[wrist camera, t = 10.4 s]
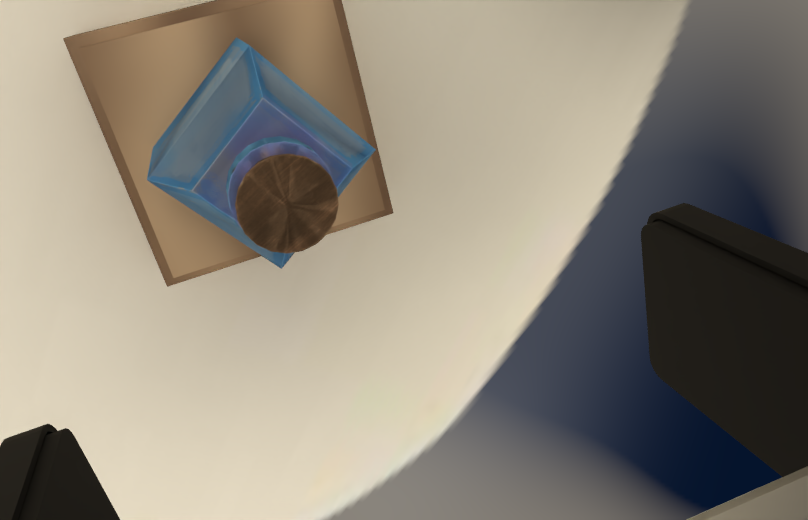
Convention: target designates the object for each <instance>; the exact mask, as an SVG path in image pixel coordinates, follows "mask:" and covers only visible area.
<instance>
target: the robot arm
mask: <svg viewBox="0 0 808 520" xmlns="http://www.w3.org/2000/svg"><path fill="white" fill-rule="evenodd" d="M641 242H642V256H643V270H644V283H645V297H646V311H647V325H648V339H649V352H650V361H651V364H652V367H653V369H654V371H655V372H656V374H657V375H658V376H659V377H660V378H661V379H662V380H663V381H664V382H665V383H667V384H668V385H669V386H670V387H672V388H673V389H674V390H675V391H676V392H678V393H679V394H680V395H681V396H683V397H684V398H685V399H686V400H688V401H689V402H691V403H692V404H693V405H694V406H695V407H697V408H698V409H699V410H700V411H701V412H703V413H704V414H705V415H706V416H708V417H709V418H710V419H711V420H713V421H714V422H715V423H716V424H717V425H719V426H720V427H721V428H722V429H724V430H725V431H726V432H728V433H729V434H730V435H731V436H732V437H734V438H735V439H736V440H738V441H739V442H740V443H741V444H742V445H744V446H745V447H746V448H747V449H749V450H750V451H751V452H752V453H754V454H755V455H756V456H757V457H759V458H760V459H761V460H762V461H763V462H765V463H766V464H767V465H768V466H770V467H771V468H772V469H774V470H775V471H776V472H777V473H778V474H780V475H781V476H782V478H780V479H778V480H776V481H773V482H771V483H769V484H767V485H765V486H762V487H760V488H757V489H755V490H753V491H751V492H748V493H746V494H744V495H742V496H739V497H737V498H735V499H732V500H730V501H728V502H726V503H724V504H721V505H719V506H717V507H714V508H712V509H710V510H708V511H705V512H703V513H701V514H699V515H697V516H694V517H692V518H690V519H687V520H808V253H806V252H804V251H801V250H799V249H796V248H794V247H791V246H789V245H787V244H784V243H782V242H779V241H777V240H775V239H772V238H770V237H767V236H765V235H763V234H760V233H758V232H755V231H753V230H750V229H748V228H746V227H743V226H741V225H738V224H736V223H733V222H731V221H729V220H726V219H724V218H721V217H719V216H716V215H714V214H712V213H709V212H707V211H704V210H702V209H699V208H697V207H695V206H692V205H690V204H685V203H683V204H680V205H677V206H674V207H671V208H668V209H665V210H662V211H660V212H656V213H653V214H652V215H651V216H650V217H649V219H648V222H647V225H645V226H644V227H643V228H642V231H641ZM0 520H120V519H119V517H118V515H117V513H116V511H115V509H114V508H113V506H112V504H111V502H110V500H109V499H108V497H107V495H106V493H105V491H104V489H103V488H102V486H101V484H100V482H99V480H98V479H97V477H96V475H95V473H94V471H93V469H92V468H91V466H90V464H89V462H88V460H87V458H86V457H85V455H84V453H83V451H82V449H81V448H80V446H79V444H78V442H77V440H76V438H75V437H74V435H73V434H72V432H71V431H70V430H69V429H66V428H65V429H62V430H59V431H57V430H56V429H55V428H54V427H53V426H52V425H50V424H46V425H43V426H40V427H37V428H35V429H32V430H29V431H26V432H23V433H20V434H17V435H14V436H12V437H9V438H6V439H4V441H3V442H2V444H1V446H0Z"/></svg>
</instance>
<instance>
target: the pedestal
mask: <svg viewBox="0 0 808 520" xmlns="http://www.w3.org/2000/svg"><path fill="white" fill-rule="evenodd" d="M236 37H237V38H238V39H240V40H242V41H243V42H245V43H246V44H248V45H250V46H251V47H252V48H253V49H254V50H256V51H257V52H258V53H259V54H260V55H262V56H263V57H264V58H265V59H267V60H268V61H269V62H270V63H271V64H273V65H274V66H275V67H276V68H277V69H279V70H280V71H281V72H282V73H284V74H285V75H286V76H287V77H288V78H290V79H291V80H292V81H293V82H294V83H296V84H297V85H298V86H299V87H301V88H302V89H303V90H304V91H305V92H307V93H308V94H309V95H310V96H311V97H313V98H314V99H315V100H316V101H318V102H319V103H320V104H321V105H322V106H324V107H325V108H326V109H327V110H328V111H330V112H331V113H332V114H333V115H335V116H336V117H337V118H338V119H339V120H341V121H342V122H343V123H344V124H345V125H347V126H348V127H349V128H350V129H351V130H353V131H354V132H355V133H356V134H358V135H359V136H360V137H361V138H362V139H364V140H365V141H366V142H367V143H368V144H370V145H371V146H372V147H373V148H375V149H376V150H375V151H374V153H373V154H372V155H371V156H370V158H369V159H368V160H367V162H366V163H365V164H364V165H363V167H362V168H361V169H360V170H359V172H358V173H357V174H356V175H355V177H354V178H353V179H352V180H351V182H350V183H349V184H348V185H347V187H346V188H345V189H344V191H343V192H342V193H341V194H340V196H339V197H338V203H339V206H338V211H337V215H336V220H335V222H334V223H333V225H332V227H331V229H330V230H329V232H328V234H330V233H333V232H336V231H340V230H343V229H346V228H349V227H352V226H355V225H358V224H361V223H364V222H367V221H370V220H373V219H376V218H379V217H383V216H386V215H389V214H392V213H393V209H392V205H391V201H390V197H389V193H388V189H387V185H386V181H385V177H384V173H383V168H382V164H381V160H380V156H379V152H378V148H377V144H376V140H375V136H374V132H373V127H372V123H371V119H370V115H369V111H368V107H367V103H366V99H365V95H364V91H363V86H362V82H361V78H360V74H359V70H358V66H357V62H356V58H355V54H354V50H353V45H352V41H351V37H350V33H349V29H348V25H347V21H346V17H345V13H344V9H343V4H342V0H215V1H211V2H207V3H203V4H199V5H195V6H191V7H187V8H183V9H179V10H175V11H170V12H166V13H162V14H158V15H154V16H150V17H146V18H142V19H138V20H134V21H130V22H126V23H122V24H118V25H114V26H110V27H105V28H101V29H97V30H93V31H89V32H85V33H81V34H77V35H73V36H70V37H67V38H63V39H64V42H65V44H66V46H67V49H68V51H69V54H70V56H71V58H72V61H73V63H74V66H75V68H76V70H77V73H78V75H79V77H80V80H81V82H82V85H83V87H84V89H85V92H86V94H87V97H88V99H89V101H90V104H91V106H92V108H93V111H94V113H95V116H96V118H97V120H98V123H99V125H100V128H101V130H102V132H103V135H104V137H105V139H106V142H107V144H108V147H109V149H110V151H111V154H112V156H113V158H114V161H115V163H116V166H117V168H118V170H119V173H120V175H121V178H122V180H123V182H124V185H125V187H126V189H127V192H128V194H129V197H130V199H131V201H132V204H133V206H134V209H135V211H136V213H137V216H138V218H139V220H140V223H141V225H142V228H143V230H144V232H145V235H146V237H147V240H148V242H149V244H150V247H151V249H152V251H153V254H154V256H155V259H156V261H157V263H158V266H159V268H160V270H161V273H162V275H163V278H164V280H165V282H166V285H167V286H170V285H173V284H177V283H180V282H183V281H186V280H189V279H192V278H195V277H198V276H201V275H204V274H207V273H210V272H213V271H216V270H220V269H223V268H226V267H229V266H232V265H235V264H238V263H241V262H244V261H247V260H250V259H253V258H256V257H260V256H261V255H260V254H258V253H257V252H255V251H254V250H252V249H251V248H249V247H248V246H246V245H245V244H243V243H242V242H240V241H239V240H237V239H236V238H234V237H233V236H231V235H230V234H228V233H227V232H225V231H223V230H222V229H220V228H219V227H217V226H216V225H214V224H213V223H211V222H210V221H208V220H207V219H205V218H204V217H202V216H201V215H199V214H198V213H196V212H195V211H193V210H192V209H190V208H189V207H187V206H186V205H184V204H182V203H181V202H179V201H178V200H176V199H175V198H173V197H172V196H170V195H169V194H167V193H166V192H164V191H163V190H161V189H160V188H158V187H157V186H155V185H154V184H152V183H151V182H149V181H148V180H147V176H148V171H149V166H150V160H151V155H152V150H153V147H154V145H155V144H156V143H157V141H158V140H159V139H160V137H161V136H162V135H163V133H164V132H165V131H166V130H167V128H168V127H169V126H170V124H171V123H172V122H173V120H174V119H175V118H176V116H177V115H178V114H179V112H180V111H181V110H182V108H183V107H184V106H185V104H186V103H187V102H188V100H189V99H190V98H191V96H192V95H193V94H194V92H195V91H196V90H197V88H198V87H199V86H200V85H201V83H202V82H203V81H204V79H205V78H206V77H207V75H208V74H209V73H210V71H211V70H212V69H213V67H214V66H215V65H216V63H217V62H218V61H219V59H220V58H221V57H222V55H223V54H224V53H225V51H226V50H227V49H228V47H229V46H230V45H231V43H232V42H233V41H234V40H235V38H236Z"/></svg>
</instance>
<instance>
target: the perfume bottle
mask: <svg viewBox="0 0 808 520" xmlns="http://www.w3.org/2000/svg"><path fill="white" fill-rule="evenodd" d="M375 150H376V149H375V148H373V147H372V146H371V145H370V144H368V143H367V142H366V141H365V140H364V139H362V138H361V137H360V136H359V135H358V134H356V133H355V132H354V131H353V130H351V129H350V128H349V127H348V126H347V125H345V124H344V123H343V122H342V121H341V120H339V119H338V118H337V117H336V116H335V115H333V114H332V113H331V112H330V111H328V110H327V109H326V108H325V107H324V106H322V105H321V104H320V103H319V102H318V101H316V100H315V99H314V98H313V97H311V96H310V95H309V94H308V93H307V92H305V91H304V90H303V89H302V88H301V87H299V86H298V85H297V84H296V83H294V82H293V81H292V80H291V79H290V78H288V77H287V76H286V75H285V74H284V73H282V72H281V71H280V70H279V69H277V68H276V67H275V66H274V65H273V64H271V63H270V62H269V61H268V60H267V59H265V58H264V57H263V56H262V55H260V54H259V53H258V52H257V51H256V50H254V49H253V48H252V47H251V46H250V45H248V44H246V43H245V42H243V41H242V40H240V39H238V38H237V37H236V38H235V40H234V41H233V42H232V43H231V45H230V46H229V47H228V49H227V50H226V51H225V53H224V54H223V55H222V57H221V58H220V59H219V61H218V62H217V63H216V65H215V66H214V67H213V69H212V70H211V71H210V73H209V74H208V75H207V77H206V78H205V79H204V81H203V82H202V83H201V85H200V86H199V87H198V88H197V90H196V91H195V92H194V94H193V95H192V96H191V98H190V99H189V100H188V102H187V103H186V104H185V106H184V107H183V108H182V110H181V111H180V112H179V114H178V115H177V116H176V118H175V119H174V120H173V122H172V123H171V124H170V126H169V127H168V128H167V130H166V131H165V132H164V133H163V135H162V136H161V137H160V139H159V140H158V141H157V143H156V144H155V145H154V147H153V150H152V155H151V160H150V166H149V171H148V176H147V180H148V181H149V182H151V183H152V184H154V185H155V186H157V187H158V188H160V189H161V190H163V191H164V192H166V193H167V194H169V195H170V196H172V197H173V198H175V199H176V200H178V201H179V202H181V203H182V204H184V205H186V206H187V207H189V208H190V209H192V210H193V211H195V212H196V213H198V214H199V215H201V216H202V217H204V218H205V219H207V220H208V221H210V222H211V223H213V224H214V225H216V226H217V227H219V228H220V229H222V230H223V231H225V232H227V233H228V234H230V235H231V236H233V237H234V238H236V239H237V240H239V241H240V242H242V243H243V244H245V245H246V246H248V247H249V248H251V249H252V250H254V251H255V252H257V253H258V254H260V255H261V256H263V257H265V258H266V259H268V260H269V261H271V262H272V263H274V264H275V265H277V266H278V267H280V268H281V269H282V267H283V266H284V265H285V264H286V262H287V261H288V260H289V259H290V257H291V256H292V255H293V254H294V252H299V251H303V250H305V249H307V248H309V247H311V246H313V245H315V244H317V243H318V242H319V241H320V240H321V239H322V238H323V237H324V236H326V235H327V234H328V232H329V230H330V229H331V227H332V225H333V223H334V222H335V220H336V215H337V211H338V206H339V203H338V197H339V196H340V194H341V193H342V192H343V191H344V189H345V188H346V187H347V185H348V184H349V183H350V182H351V180H352V179H353V178H354V177H355V175H356V174H357V173H358V172H359V170H360V169H361V168H362V167H363V165H364V164H365V163H366V162H367V160H368V159H369V158H370V156H371V155H372V154H373V153H374V151H375Z"/></svg>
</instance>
